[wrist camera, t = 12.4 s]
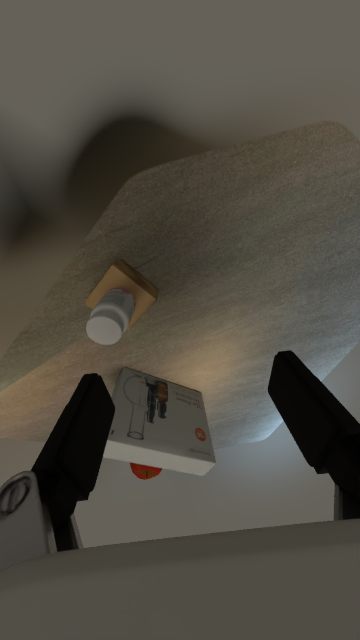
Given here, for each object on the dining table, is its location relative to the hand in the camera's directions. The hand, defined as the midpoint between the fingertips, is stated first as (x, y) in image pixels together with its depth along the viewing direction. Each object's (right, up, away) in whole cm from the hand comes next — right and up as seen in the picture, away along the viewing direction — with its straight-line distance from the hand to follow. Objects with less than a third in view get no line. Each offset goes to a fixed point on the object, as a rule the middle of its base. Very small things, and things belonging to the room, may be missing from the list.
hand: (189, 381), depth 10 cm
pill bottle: (-10, +6, +18) cm, 22 cm away
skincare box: (-5, -13, +35) cm, 37 cm away
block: (-10, +8, +22) cm, 26 cm away
